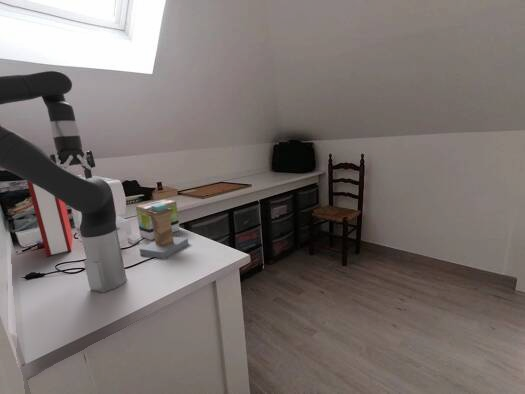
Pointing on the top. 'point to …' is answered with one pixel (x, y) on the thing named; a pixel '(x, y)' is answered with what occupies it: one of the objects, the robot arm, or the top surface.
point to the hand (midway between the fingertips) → (77, 182)
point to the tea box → (146, 221)
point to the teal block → (159, 207)
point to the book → (51, 220)
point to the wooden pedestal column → (162, 227)
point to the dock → (164, 248)
